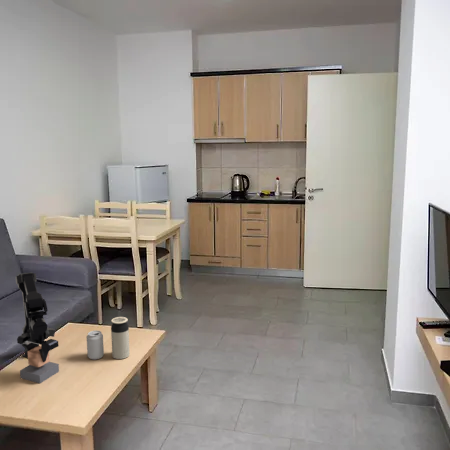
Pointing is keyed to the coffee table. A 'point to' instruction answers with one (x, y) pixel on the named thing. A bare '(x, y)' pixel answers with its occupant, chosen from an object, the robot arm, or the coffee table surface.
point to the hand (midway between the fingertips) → (39, 360)
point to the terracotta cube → (36, 357)
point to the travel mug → (120, 338)
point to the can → (95, 345)
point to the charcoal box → (39, 372)
